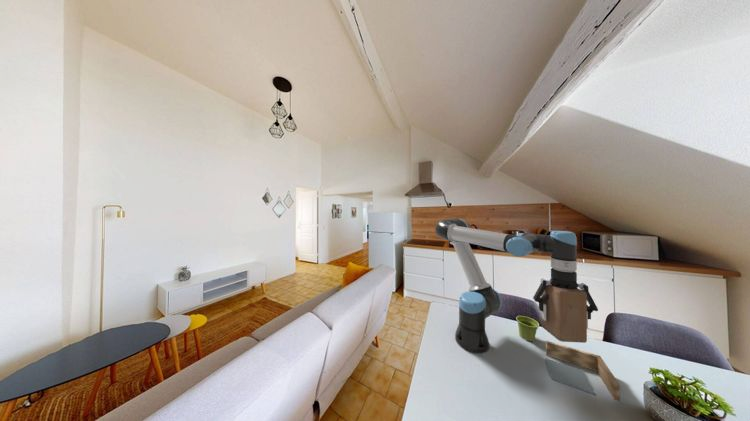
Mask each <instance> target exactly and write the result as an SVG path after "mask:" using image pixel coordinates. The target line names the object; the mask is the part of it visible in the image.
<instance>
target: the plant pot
mask: <svg viewBox="0 0 750 421" xmlns="http://www.w3.org/2000/svg"><path fill="white" fill-rule="evenodd" d="M515 319H516V321H517V326H518V334H519V336H520V337H521V339H522V340H526V341H528V342H531V341H532V342H534V341H535V338H536V334H537V330H538V328H539V327H540V323H539V322H538V321H537V320H535V319H534V318H531V317H528V316H523V315H517V316H516V317H515Z"/></svg>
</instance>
